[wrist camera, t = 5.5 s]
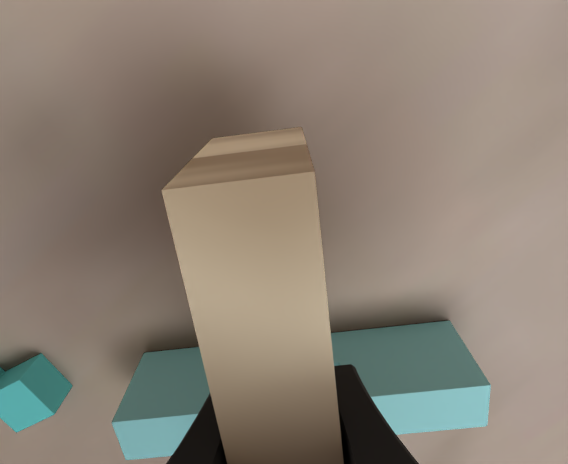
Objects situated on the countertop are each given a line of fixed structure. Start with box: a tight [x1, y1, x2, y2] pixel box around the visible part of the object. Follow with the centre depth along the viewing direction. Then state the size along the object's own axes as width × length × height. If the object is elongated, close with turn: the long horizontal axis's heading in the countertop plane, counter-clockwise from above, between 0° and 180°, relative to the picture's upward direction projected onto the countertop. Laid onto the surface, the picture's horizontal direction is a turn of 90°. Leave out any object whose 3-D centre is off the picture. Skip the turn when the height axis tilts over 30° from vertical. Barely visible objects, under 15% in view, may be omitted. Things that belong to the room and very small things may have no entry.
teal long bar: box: [112, 321, 491, 460], centre depth 18 cm, size 2×14×4 cm, turn 97°
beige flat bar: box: [161, 127, 344, 464], centre depth 11 cm, size 14×2×5 cm, turn 7°
